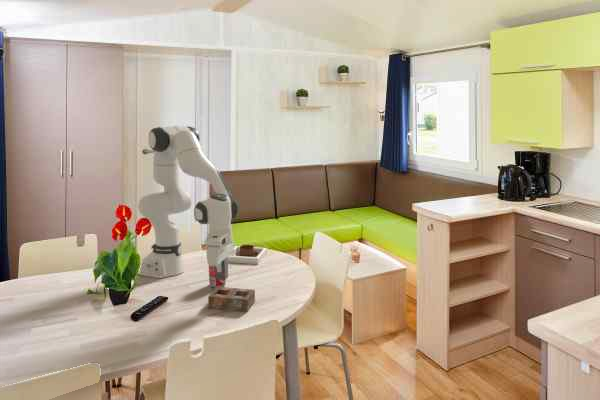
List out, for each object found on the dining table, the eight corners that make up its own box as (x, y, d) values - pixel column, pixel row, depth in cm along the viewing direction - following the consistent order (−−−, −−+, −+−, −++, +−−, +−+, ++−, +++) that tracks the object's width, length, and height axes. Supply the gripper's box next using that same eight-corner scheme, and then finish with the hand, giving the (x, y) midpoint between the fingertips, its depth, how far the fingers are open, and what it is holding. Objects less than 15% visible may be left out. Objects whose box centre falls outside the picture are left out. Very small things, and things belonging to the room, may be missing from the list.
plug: (216, 279, 176) (215, 258, 174) (219, 276, 179) (218, 255, 177) (225, 280, 175) (224, 258, 173) (228, 276, 178) (227, 255, 177)
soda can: (222, 289, 194) (221, 260, 192) (206, 287, 196) (205, 259, 193) (228, 283, 201) (227, 255, 198) (213, 281, 202) (212, 254, 200)
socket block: (208, 308, 175) (207, 296, 174) (217, 298, 185) (217, 286, 184) (247, 312, 172) (247, 299, 171) (254, 301, 182) (254, 289, 181)
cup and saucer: (238, 254, 243) (238, 243, 242) (260, 254, 242) (259, 243, 241) (233, 261, 231) (232, 249, 230) (255, 262, 230) (255, 250, 229)
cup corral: (224, 261, 230) (224, 256, 229) (235, 251, 247) (235, 246, 246) (258, 264, 226) (258, 258, 226) (267, 253, 244) (267, 248, 243)
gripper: (222, 228, 184) (223, 260, 187) (203, 242, 165) (204, 277, 167) (237, 229, 183) (237, 261, 186) (219, 243, 163) (220, 279, 166)
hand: (222, 269), depth 176 cm, fingers closed on plug, 4 cm apart
